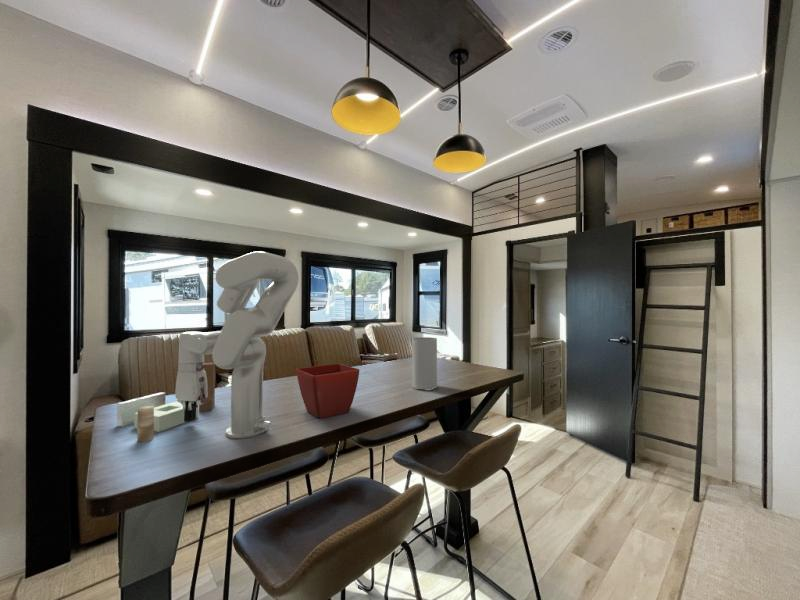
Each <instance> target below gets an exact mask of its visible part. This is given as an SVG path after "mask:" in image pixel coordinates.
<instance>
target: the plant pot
mask: <svg viewBox="0 0 800 600" xmlns="http://www.w3.org/2000/svg"><path fill="white" fill-rule="evenodd" d="M295 369H296V370H295V371H296V376H297V381H298V382H297V383H298V387H299V391H300V395H301V398H302V401H303V403H304V406H305V408H306V409H305V410H306V411H307V412H308V413H310V414H311V415H313V416H314V417H316V418H317V419H325V418H328V417H333V416H337V415H341V414H347V413H349V412H350V410H351V408H352V404H353V401H354V399H355V396H356V390H357V387H358V382H359V375H360V369H359V368H357V367H353V366H349V365H346V364H342V363H331V364H324V365H323V364H322V365H314V366H306V367H300V368H299V367H298V368H295Z"/></svg>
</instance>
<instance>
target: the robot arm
mask: <svg viewBox="0 0 800 600" xmlns="http://www.w3.org/2000/svg"><path fill="white" fill-rule="evenodd" d="M260 280H266V281H272V283H270V285H269V286H268V287H266V289H264V291H263V292H262V293H261V294H260V297H259V300H258V301H257V302H256V304H255V305H254V306H253V307H247V304H248V303H249V301H250V300H251V297H252V296H253V294H254V292H255V290H256V288H257V286H258V285H259V282H260ZM215 282H216V284H217V285H218V286H219V287H220V288H223V290H222V291H221V293H220V295H219V298H218V299H217V301H216V306H217V307H218V309H219V310H221V311H222V312H223V313H225V314H226V320H225V323H224V325H223V326H222V328H221V329H220V330H216V331H215V330H214V331H208V332H207V331H206V332H202V331H185V332H181V333H180V334H179V336H178V338H179V339H178V363H177V364H178V367H177V368H178V370H177V375H176V379H175V390H174V393H175V394H174V395H175V399H177V401H176V402H179V403H181V404H182V405H183V409H184V421H185V423H190V422H193V421H195V420H196V419H197V418H196V408H198V409H199V405H202V404H204V400H203V399H206V398H207V396H208V385H207V376H206V372H205V371H204V367H205V366H204V363H205V356H206V355H211V357H212V361H213V363H215V367H218V368H219V369H222V370H232V369H233V370H232V374H231V380H230V381H231V386H230V390H231V391H230V426H229V427H227V428H226V430H225V436H226V437H227V438H230V439H245V438H251V437H255V436H259V435H261V434H262V433H265V432H266V431H268V430H269V428H270V426H272V421H270V420H269V421H267V420H266V415H263V412H264V411H263V406H264V405H263V404H264V402H263V401H264V397H263V395H264V364H265V362H266V361H265V359H266V355H267V347H266V343H265V342H264V340H263V339H262V337H266V336H269V335H271V334H272V333H273V331H274V330H275V328H276V327H277V325H278V323H279V321H280V319H281V318H282V316H283V313H284V312H285V310H286V308H287V306H288V304H289V302H290V301H291V299H292V297H293V295H294V294H295V292H296V290H297V289H298V288H297V287H298V285H299V272H298V269H297V267H296V265H295V264H294V263H293V261H291V260H290V259H288V258H287V257H284V256H282V255H278V254H274V253H270V252H268V251H267V252H266V251H261V250H259V251H253V252H252V251H251V252H250V253H246V254H243V255H241V256H239V257H235V258H233V259H231V260H228V261H226V262H224V263H223V264H221V265H220V266H219V267H218V269H217V271H216V273H215Z"/></svg>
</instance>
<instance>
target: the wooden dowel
mask: <svg viewBox="0 0 800 600" xmlns="http://www.w3.org/2000/svg"><path fill="white" fill-rule="evenodd" d="M136 430H137V436H136V438H137V439H136V440H137V441H136V442H137V443H146V442H149V441H152V440H153V439H154V436H155V435H154V433H155V431H154V406H144V407H140V408H138V421H137V428H136Z"/></svg>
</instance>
